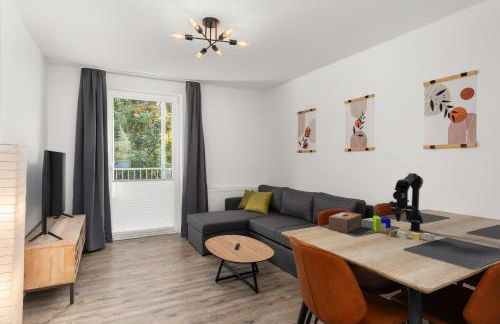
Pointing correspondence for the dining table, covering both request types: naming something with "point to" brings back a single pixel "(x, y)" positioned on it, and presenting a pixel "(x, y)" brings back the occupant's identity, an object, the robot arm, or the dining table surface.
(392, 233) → the walnut brick
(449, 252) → the dining table surface
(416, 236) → the mustard brick
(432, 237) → the grey brick
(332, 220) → the tissue box cover
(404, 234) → the sage brick
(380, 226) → the puzzle toy
